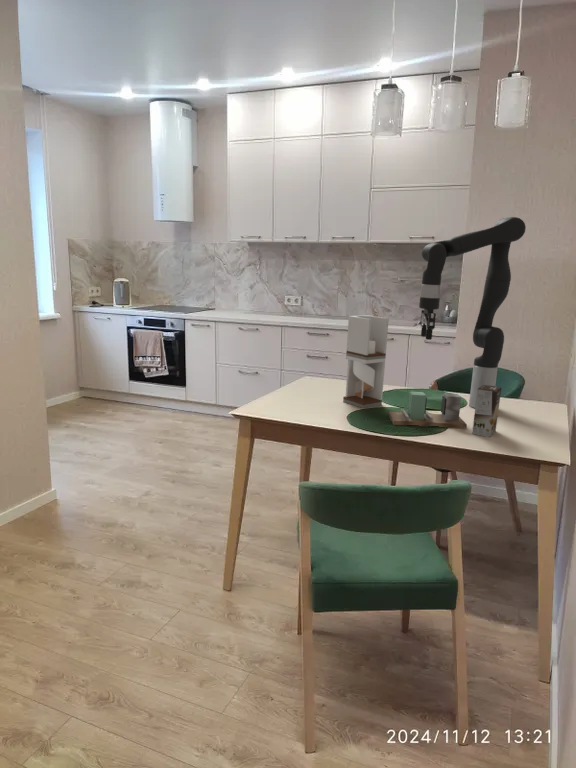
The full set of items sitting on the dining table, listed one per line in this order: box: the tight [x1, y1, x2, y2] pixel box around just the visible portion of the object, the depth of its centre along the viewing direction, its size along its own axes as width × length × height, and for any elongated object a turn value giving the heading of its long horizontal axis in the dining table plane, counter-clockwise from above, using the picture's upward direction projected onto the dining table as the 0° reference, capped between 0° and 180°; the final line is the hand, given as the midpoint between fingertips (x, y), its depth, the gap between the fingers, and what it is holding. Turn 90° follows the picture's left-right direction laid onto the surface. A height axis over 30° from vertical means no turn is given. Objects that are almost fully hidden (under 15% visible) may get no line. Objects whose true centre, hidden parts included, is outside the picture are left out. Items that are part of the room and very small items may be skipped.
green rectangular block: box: [407, 391, 428, 419], centre depth 203 cm, size 6×5×9 cm
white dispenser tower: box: [342, 315, 390, 409], centre depth 223 cm, size 11×11×35 cm
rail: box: [387, 392, 468, 429], centre depth 203 cm, size 26×12×10 cm, turn 89°
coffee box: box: [471, 385, 502, 438], centre depth 193 cm, size 9×6×16 cm
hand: (426, 337), depth 220 cm, fingers open, 8 cm apart
